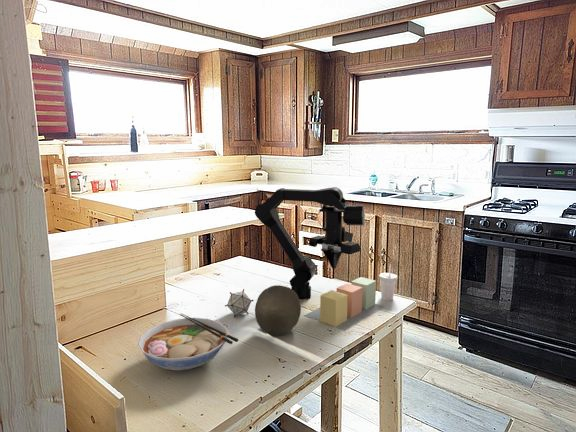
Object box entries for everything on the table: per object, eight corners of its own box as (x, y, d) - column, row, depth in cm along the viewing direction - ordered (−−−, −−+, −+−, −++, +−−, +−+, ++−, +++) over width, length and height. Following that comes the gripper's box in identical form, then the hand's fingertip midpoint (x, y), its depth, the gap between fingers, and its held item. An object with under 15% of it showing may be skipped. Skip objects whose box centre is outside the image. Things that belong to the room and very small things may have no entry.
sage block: (350, 304, 145) (351, 281, 143) (360, 299, 149) (361, 276, 148) (365, 309, 141) (366, 285, 139) (375, 304, 145) (376, 280, 144)
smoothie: (391, 306, 146) (393, 267, 144) (374, 302, 150) (376, 264, 148) (399, 300, 151) (401, 263, 149) (382, 296, 155) (384, 260, 153)
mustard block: (320, 320, 132) (320, 295, 131) (331, 314, 137) (331, 290, 135) (335, 326, 128) (336, 300, 127) (346, 320, 133) (347, 294, 131)
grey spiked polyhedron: (234, 325, 140) (214, 303, 139) (246, 308, 147) (228, 287, 145) (250, 320, 135) (230, 296, 133) (263, 302, 141) (244, 280, 139)
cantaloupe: (245, 333, 127) (243, 286, 124) (281, 320, 136) (281, 275, 133) (274, 351, 116) (273, 300, 113) (311, 336, 125) (311, 288, 122)
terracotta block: (336, 312, 139) (336, 288, 137) (346, 307, 143) (347, 283, 141) (351, 317, 135) (352, 292, 133) (361, 311, 139) (362, 287, 137)
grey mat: (303, 319, 137) (303, 315, 136) (345, 297, 154) (345, 294, 154) (344, 334, 126) (344, 330, 126) (384, 309, 144) (384, 306, 143)
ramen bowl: (122, 360, 112) (120, 331, 111) (196, 332, 128) (195, 307, 126) (170, 401, 95) (168, 368, 93) (249, 363, 110) (248, 334, 109)
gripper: (370, 224, 143) (369, 268, 146) (328, 218, 156) (328, 258, 159) (349, 229, 135) (349, 276, 138) (307, 222, 148) (308, 265, 151)
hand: (334, 268), depth 147 cm, fingers closed
